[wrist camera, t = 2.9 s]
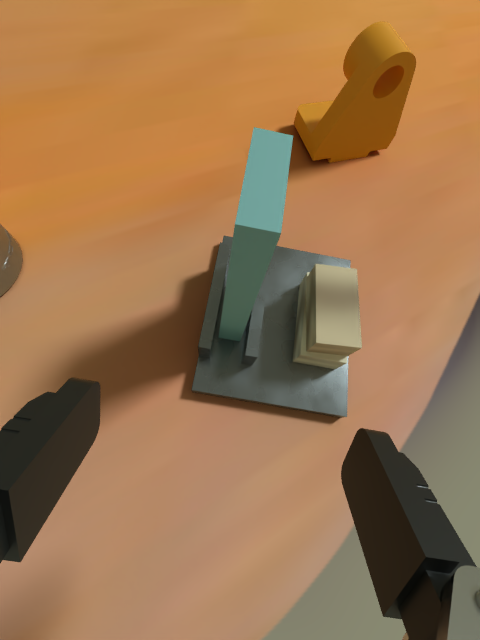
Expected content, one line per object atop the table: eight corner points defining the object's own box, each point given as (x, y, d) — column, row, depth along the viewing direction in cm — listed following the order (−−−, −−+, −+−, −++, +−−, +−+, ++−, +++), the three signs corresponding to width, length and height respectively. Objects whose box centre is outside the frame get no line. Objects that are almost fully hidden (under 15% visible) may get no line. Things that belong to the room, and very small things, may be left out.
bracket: (359, 115, 43) (414, 3, 32) (383, 154, 41) (450, 47, 30) (289, 125, 41) (322, 8, 30) (310, 166, 39) (354, 56, 27)
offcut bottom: (335, 369, 28) (347, 363, 26) (292, 361, 28) (300, 354, 26) (338, 291, 31) (349, 280, 29) (299, 284, 31) (307, 271, 29)
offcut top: (347, 355, 26) (361, 347, 24) (306, 351, 26) (316, 342, 23) (344, 282, 29) (356, 269, 26) (306, 277, 28) (315, 263, 26)
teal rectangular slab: (240, 341, 28) (281, 233, 13) (218, 337, 28) (235, 224, 13) (249, 283, 30) (293, 135, 15) (229, 280, 30) (254, 127, 15)
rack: (341, 417, 28) (363, 414, 24) (192, 391, 27) (190, 384, 23) (345, 266, 34) (364, 243, 30) (223, 242, 33) (225, 216, 29)
